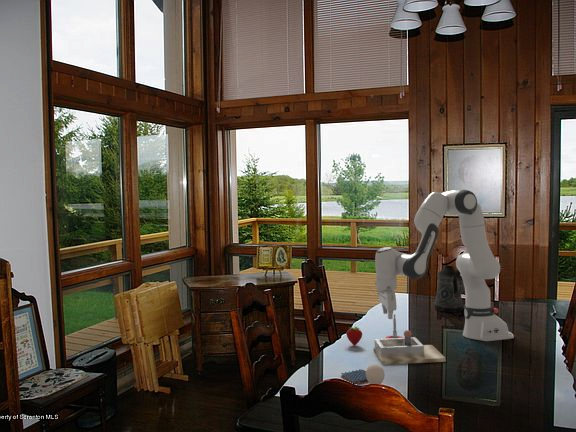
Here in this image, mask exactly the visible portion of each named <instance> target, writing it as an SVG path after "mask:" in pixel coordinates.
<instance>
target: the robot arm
mask: <svg viewBox="0 0 576 432" xmlns="http://www.w3.org/2000/svg"><path fill="white" fill-rule="evenodd" d="M483 213H484V212H483V209H482V207H481V205H480V204H479V203H478V198H477V197H476V194H475V193H474V192H472V191H471V190H467V189H452V190H444V191H441V192H437V191H434V192H431V193H430V194H428V195H427V197H426V198H425V199H424V200H423V202H422V203H421V205H420V207H419V208H418V210H417V212H416V213H415V215H414V219H413V223H414V227H415V228H416V230H417V231H418V232H420V233H421V237H420V238H421V239H420V241H419V243H418V246H417V248H416V250H415V252H414V253H412V254H409V253H408V254H407V253H404V252H400V251H398V250H396V249H394V248H393V247H392V246H386V247H385V246H384V247H380V248H378V249H377V250H376V253H375V258H374V260H375V261H374V265H375V267H374V268H375V271H376V275H375V283H374V284H375V288H376V292H377V293H376V294H377V298H378V299H377V300H378V302H379V303H380V304H381V308H382V313H383V314H384V315H387V319H388V320H393V319H394V311H397V298H396V293H395V290H397V288H398V287H397V286H398V284H397V276H398V275H400V276H404V277H407V278H408V279H409V278H410V279H412V280H419V279H421V278H423V276H425V274H426V272H427V268H428V264H429V261H430V257H431V255H432V252H433V249H434V246H435V244H436V241H437V239H438V236H439V226H440V223H441V222H442V220H443V218H444V215H445V214H449V215H457V216H458V221H459V231H460V238H461V243H462V245H463V246H464V247H465V249H466V251H467V252H464V253H461V254H459V255H458V256H457V258H456V260H455V266H456V270H458V271H459V272H460V276H462V279H463V283H464V287H465V289H464V292H465V293H464V294H465V295H464V296H465V304H464V319H465V320H464V321H465V322H464V326H463V331H462V332H463V333H462V336H463V337H465V338H467V339H471V340H477V341H483V342H493V341H494V342H495V341H502V340H510V339H514V337H515V336H514V333H512V332H511V331H509V328H508V323H506V322H505V321H504V320H503V319H502V318H500V317H499V316H498V315H496V314H498V313H499V309H498V308H497V307H493V306H492V305H491V289H490V287H489V286H488V285H487V283H486V282H487V281H486V280H493V279H495V278H497V277H498V276H499V274H500V273H501V263H500V262H499V261H498V260H497V259H496V257H495V256H494V254H493V252H492V250H491V247H490V245H489V242H488V238H487V232H486V224H485V217H484V214H483Z"/></svg>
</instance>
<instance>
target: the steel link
mask: <svg viewBox="0 0 576 432" xmlns="http://www.w3.org/2000/svg"><path fill="white" fill-rule="evenodd" d="M423 345H424V344H423V343H422V342H421V341H420V340H419V339H418V338H417V337H416V336H413V337H412V336H411V345H409V346H405V337H403V338H374V347H375V349H376V350H377V352H378V354H379V355H380V357H403V356H424V346H423Z"/></svg>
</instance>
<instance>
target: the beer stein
mask: <svg viewBox="0 0 576 432" xmlns="http://www.w3.org/2000/svg"><path fill="white" fill-rule="evenodd" d="M436 275H437V278H438V280H437V281H438V282H437V287H436V288H437V289H436V296H435V299H434V301H433V305H434V309H435V310H436V311H439V312H441V313H443V312H444V313H457V312H462V311H463V309H464V307H465V304H464V301H463V299H462V294H463V293H464V292H465V287H464V283H463V279H462V276H461V274H460V272H459V270H458V269H455V268H454V266H453V265H444V267H443V268H442V269H440V270H439V271H438V273H437V274H436Z"/></svg>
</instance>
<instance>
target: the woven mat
mask: <svg viewBox="0 0 576 432" xmlns="http://www.w3.org/2000/svg"><path fill="white" fill-rule="evenodd" d="M340 374H341V375H340V377H341V378H343V379H344V380H346V379H347V380H346V381H347V382H349V381H350V382H349V383H351V382H352V383H354V384H358V385H363V384H366V382H367V383H369V382H368V380H367V378H366V370H365V369H361V368H359V369H358V370H357V369H355V370H352V371H350V370H349V371H347V372H346V371H345V372H341V373H340ZM352 383H351V384H352ZM362 383H363V384H362ZM354 384H353V385H354Z"/></svg>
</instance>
